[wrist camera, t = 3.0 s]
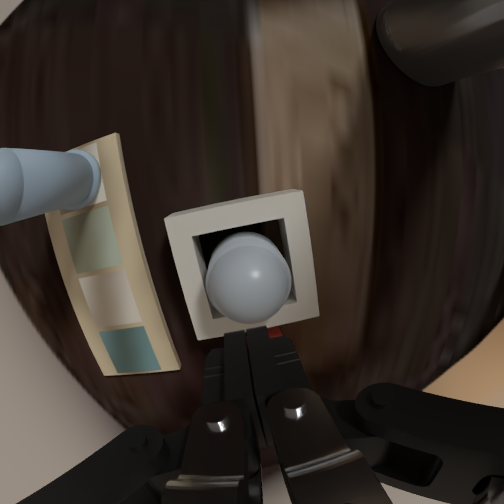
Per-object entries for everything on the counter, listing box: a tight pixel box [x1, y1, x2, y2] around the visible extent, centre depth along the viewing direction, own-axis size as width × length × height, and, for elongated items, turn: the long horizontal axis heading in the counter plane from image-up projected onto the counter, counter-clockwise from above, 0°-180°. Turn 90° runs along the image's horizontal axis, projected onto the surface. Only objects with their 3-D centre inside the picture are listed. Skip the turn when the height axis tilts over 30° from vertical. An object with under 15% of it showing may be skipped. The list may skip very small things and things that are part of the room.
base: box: [164, 189, 319, 340], centre depth 20 cm, size 9×9×3 cm
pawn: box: [0, 148, 102, 226], centre depth 13 cm, size 5×5×11 cm
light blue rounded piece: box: [206, 231, 291, 324], centre depth 17 cm, size 5×5×6 cm
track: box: [45, 133, 181, 376], centre depth 21 cm, size 8×20×1 cm, turn 11°
